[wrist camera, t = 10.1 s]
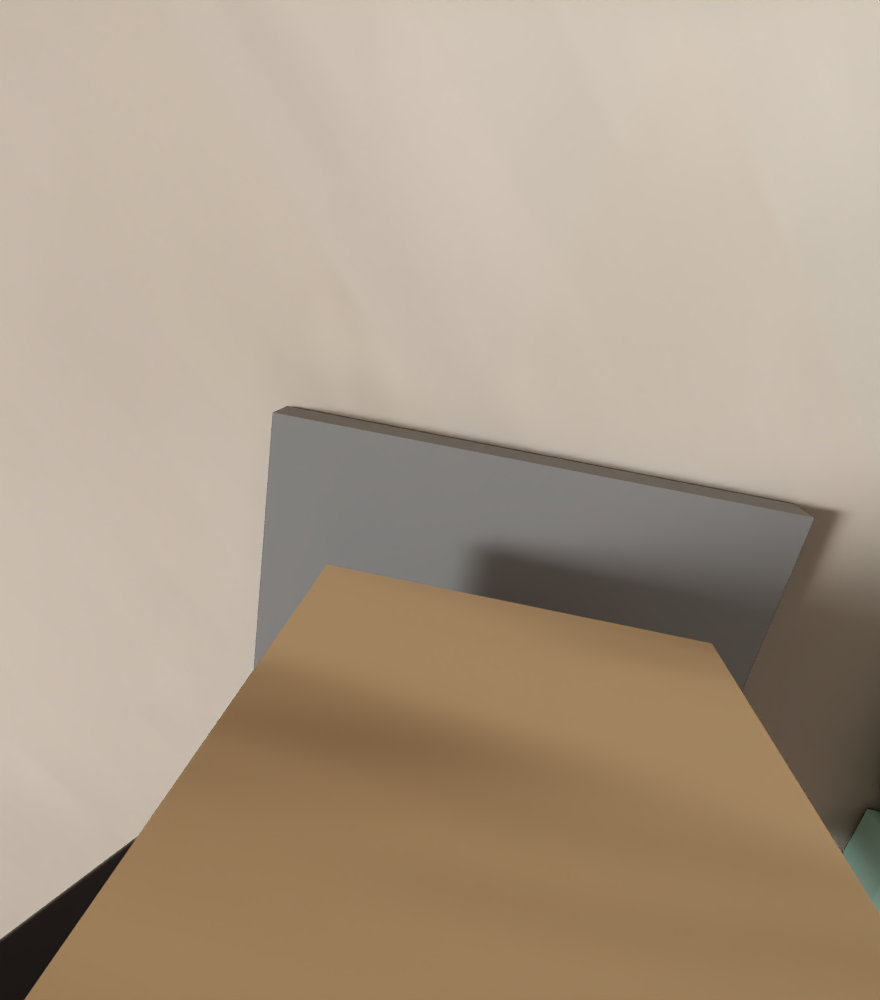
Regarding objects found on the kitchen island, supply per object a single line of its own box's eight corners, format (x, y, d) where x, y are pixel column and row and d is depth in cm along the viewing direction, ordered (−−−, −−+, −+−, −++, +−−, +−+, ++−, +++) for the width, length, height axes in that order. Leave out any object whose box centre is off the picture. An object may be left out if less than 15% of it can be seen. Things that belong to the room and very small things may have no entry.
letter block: (607, 916, 9) (729, 1640, 4) (293, 844, 9) (57, 1448, 4) (711, 643, 7) (1125, 1314, 2) (326, 564, 7) (1, 1032, 3)
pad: (643, 876, 11) (651, 906, 11) (255, 789, 12) (243, 813, 11) (794, 503, 9) (814, 517, 8) (287, 406, 9) (272, 412, 9)
